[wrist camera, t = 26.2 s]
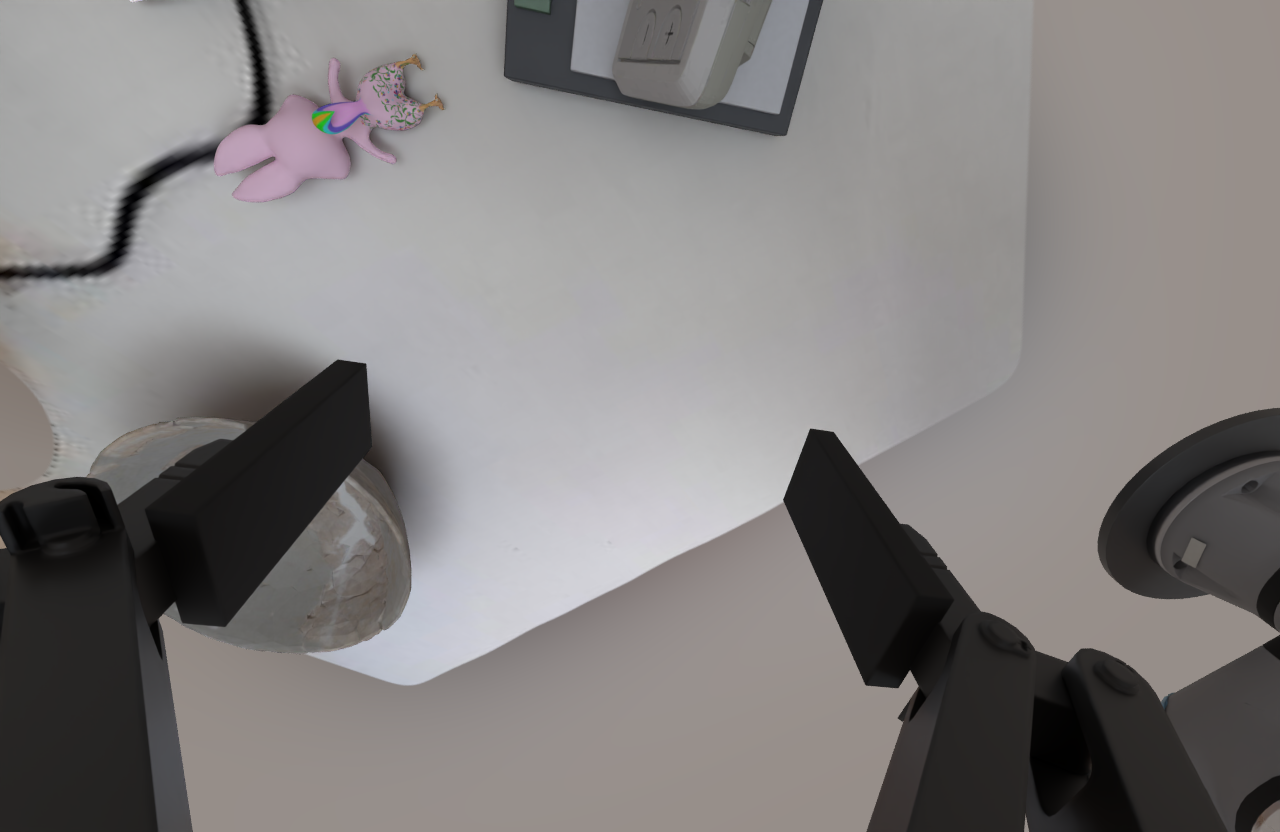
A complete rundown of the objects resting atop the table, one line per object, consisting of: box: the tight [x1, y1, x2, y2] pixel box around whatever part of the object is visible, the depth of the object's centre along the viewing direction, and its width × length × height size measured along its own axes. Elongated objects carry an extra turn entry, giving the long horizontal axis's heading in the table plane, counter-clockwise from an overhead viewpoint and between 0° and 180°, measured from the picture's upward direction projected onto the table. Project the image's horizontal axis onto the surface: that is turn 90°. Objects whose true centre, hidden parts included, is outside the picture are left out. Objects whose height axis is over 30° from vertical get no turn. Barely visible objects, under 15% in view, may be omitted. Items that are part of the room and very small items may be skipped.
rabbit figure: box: [214, 53, 446, 202], centre depth 32 cm, size 6×6×15 cm
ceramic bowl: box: [86, 417, 411, 654], centre depth 43 cm, size 22×23×10 cm
